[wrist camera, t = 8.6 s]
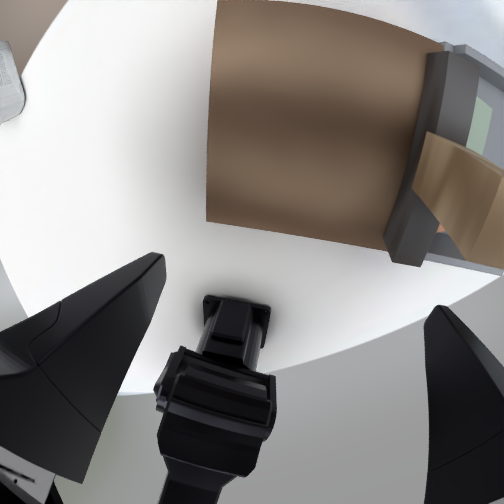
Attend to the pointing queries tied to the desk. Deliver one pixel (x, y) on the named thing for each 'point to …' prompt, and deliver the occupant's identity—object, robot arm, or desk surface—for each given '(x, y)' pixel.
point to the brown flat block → (310, 119)
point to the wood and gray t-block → (448, 174)
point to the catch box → (495, 150)
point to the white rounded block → (9, 85)
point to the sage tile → (479, 126)
